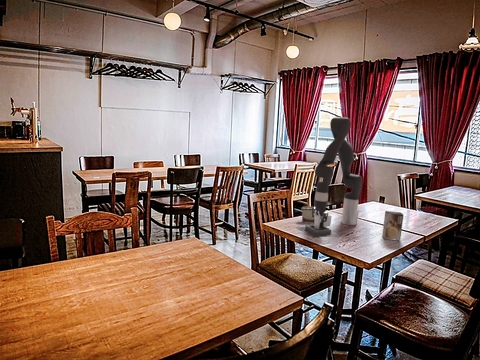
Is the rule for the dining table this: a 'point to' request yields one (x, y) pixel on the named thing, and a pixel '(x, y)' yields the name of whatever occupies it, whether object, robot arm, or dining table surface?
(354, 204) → the robot arm
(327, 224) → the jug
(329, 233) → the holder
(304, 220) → the food container
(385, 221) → the coffee box
